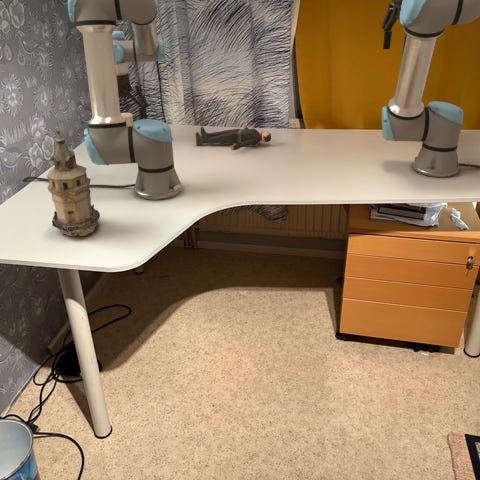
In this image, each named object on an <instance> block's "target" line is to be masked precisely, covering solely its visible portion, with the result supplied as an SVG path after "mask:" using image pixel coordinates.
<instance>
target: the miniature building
mask: <svg viewBox="0 0 480 480" xmlns="http://www.w3.org/2000/svg"><path fill="white" fill-rule="evenodd" d="M56 134H57V136H56V138H55V140H54V141H55V142H56V147H55V154H54V156H52V157H51V161H52V162H53V165H54V167H53V168H51V169H50V170H49V171H48V173H47V174H46V179H49V181H48V182H49V184H48V186H47V190H48V191H49V193H50V194H51V200H52V201H53V205H54V209H55V211H53V217H52V220H51V223H52V225H51V227H54V228H56V229H58V230H59V231H60V234H63V235H64V234H65V235H66V236H69V237H77V236H80V237H83V236H87V235H88V234H90V233H93V232H94V231H95V229H96V226H97V225H98V223H99V220H100V216H101V213H100V212H99V210H98V209H96V208H95V204H92V201H91V200H92V199H91V198H92V197H91V192H92V191H91V188H90V187H89V185H91V178H89V177H88V174H87V167H85V166H84V165H83V166H82V165H80V164H77V160H76V154H75V151H74V150H70V149H69V147H68V145H67V143H66V138H65V137H64V136H63V135H61V130H60V129H56Z"/></svg>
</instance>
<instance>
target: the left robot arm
mask: <svg viewBox="0 0 480 480" xmlns="http://www.w3.org/2000/svg"><path fill="white" fill-rule="evenodd" d="M157 7H158V6H157V2H156V0H67V10H68V17H69V20H70V22H72V23H75V26H76V27H75V28H76V30H78V32H80V33H81V34H82V40H83V49H84V57H85V65H86V66H85V67H86V74H87V83H88V91H89V98H90V99H89V100H90V108H91V109H90V110H91V118H90V119H89V121H88V122H87V124H88V127H86V128H85V129H84V130H83V136H84V145H85V148H86V152H87V154H88V157H89V160H90V161H91V162H92V163H93V164H94V165H97V166H111V165H125V164H126V165H129V164H130V165H131V164H137V175H136V179H135V183H130V184H124V185H114V184H89V188H111V189H112V188H113V189H116V188H117V189H125V188H131V187H132V188H133V187H134V193H135V195H136V196H137V197H138V198H141V199H143V200H148V201H161V200H168V199H171V198H174V197H176V196H178V195H179V194H180V193H181V192H182V182H181V180H180V177H179V176H178V173H177V171H176V169H175V161H174V160H175V159H174V158H175V157H174V147H173V140H174V139H173V135H172V129H171V126H170V125H169V124H168V123H167V122H165V121H161V120H159V119H152V118H144V117H146V110H145V109H146V108H148V107H149V106H150V104H149V103H148V101H147V100H146V99H145V97H144V95H143V94H142V92H141V90H140V86H139V85H138V84H137V83H134V84H132V85H131V79H130V74H129V72H130V70H129V69H130V68H129V63H139V62H140V63H145V62H147V63H148V62H150V63H151V62H153V63H154V62H156V63H157V62H163V61H164V60H165V59H166V56H165V55H166V54H165V52H166V51H165V44H164V43H165V42H164V40H163V39H158V31H157V24H156V18H157V15H158V8H157ZM117 21H129V22H130V23H131V26H132V30H133V35H134V39H132V40H127V39H126V35H125V32H124V31H122V30H116V29H117V27H118V26H117ZM132 90H133V91H135V92H136V93H137V95H138V97H139V98H140V100H141V102H142V103H143V104H142V103H141V102H140V100H138V99H137V98H136V97H135V96H134V95H133V94H132V93H131V91H132ZM128 97H129V99H131V100H132V101H133V102H134V103H135V104H136V105H137V106H138V107H139V108H138V113H139V119H137V120H134V121H133V122H134V123H133V126H127V125H126V120H125V119H124V118H123V117H122V116H121V114H120V113H121V104H120V99H122V98H123V99H125V98H128ZM27 180H37V181H44V182H45V181H46V182H49V179H48V178H47V177H46V178H45V177H37V176H27V177H25V178H23V179H22V182H26V181H27Z"/></svg>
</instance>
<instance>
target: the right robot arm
mask: <svg viewBox="0 0 480 480" xmlns="http://www.w3.org/2000/svg"><path fill="white" fill-rule="evenodd" d="M479 17H480V0H391V3H388V5H387V11H386V13H385V16H384V18H383V21H382V24H381V27H380V28H381V30H383V33H384V34H383V44H382V50H390V49H391V44H392V43H391V42H392V35H393V34H392V33H393V27H394V25H395V24H396V23H397V22H398V21H397V20H399V23H400V25H401V26H403V28H402V29H403V31H404V33H405V36H404V41H403V47H402V48H403V49H402V58H401V63H400V68H399V73H398V78H397V83H396V88H395V93H394V97H392V98H390V99H389V102H388V104H387V105H385V106H383V107H382V108H381V130H382V137H383V139H384V140H385V141H391V142H421V148H420V150H419V152H418V154H417V156H415V157H414V161H413V166H412V168H413V170H414V171H415V172H417V173H419V174H420V175H423V176H427V177H432V178H451V177H453V176H456V175H457V174H458V172H459V169H460V167H467V168H476V169H480V165H478V164H470V163H462V162H459V159H458V147H459V141H460V135H461V131H462V125H463V123H464V122H463V121H464V111H463V109H462V108H461V107H459V106H457V105H455V104H453V103H450V102H444V101H437V100H436V101H435V100H434V101H430V102H428V104H427V106H425V104H424V103H423V101H422V98H423V96H424V95H423V94H424V90H425V86H426V83H427V78H428V74H429V70H430V66H431V62H432V58H433V54H434V50H435V45H436V41H437V38H439V37H441V36H442V35H443V34H444V32H445V28H446V26H463V25H466V24H469V23H471V22H473V21H475V20H477V19H478V18H479Z"/></svg>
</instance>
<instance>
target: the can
mask: <svg viewBox="0 0 480 480" xmlns="http://www.w3.org/2000/svg"><path fill="white" fill-rule="evenodd" d="M120 114H121V116H122V117H123V118H124V119H125V120H126V125H127V126H133V123H134V122H135V121H134V116H133V115H134V114H133V113H131V112H120Z"/></svg>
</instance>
